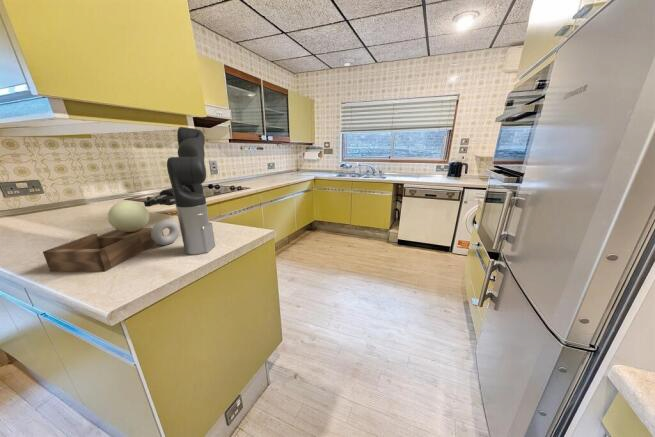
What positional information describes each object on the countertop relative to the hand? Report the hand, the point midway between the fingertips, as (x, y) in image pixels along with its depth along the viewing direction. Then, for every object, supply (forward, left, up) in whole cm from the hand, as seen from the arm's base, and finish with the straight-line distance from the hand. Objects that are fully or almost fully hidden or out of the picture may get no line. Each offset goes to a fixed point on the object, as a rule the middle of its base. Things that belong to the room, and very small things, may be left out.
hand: (146, 204), depth 95 cm
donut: (-14, +10, -14) cm, 22 cm away
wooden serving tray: (0, +18, -14) cm, 23 cm away
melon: (0, +9, -3) cm, 10 cm away
